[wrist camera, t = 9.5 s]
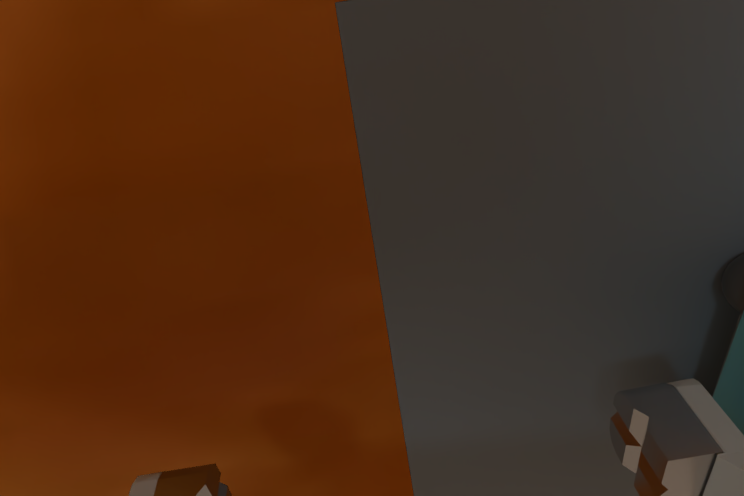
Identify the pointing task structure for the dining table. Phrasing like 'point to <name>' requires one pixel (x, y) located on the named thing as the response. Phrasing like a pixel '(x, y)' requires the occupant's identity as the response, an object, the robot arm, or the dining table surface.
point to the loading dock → (546, 221)
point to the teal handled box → (733, 349)
